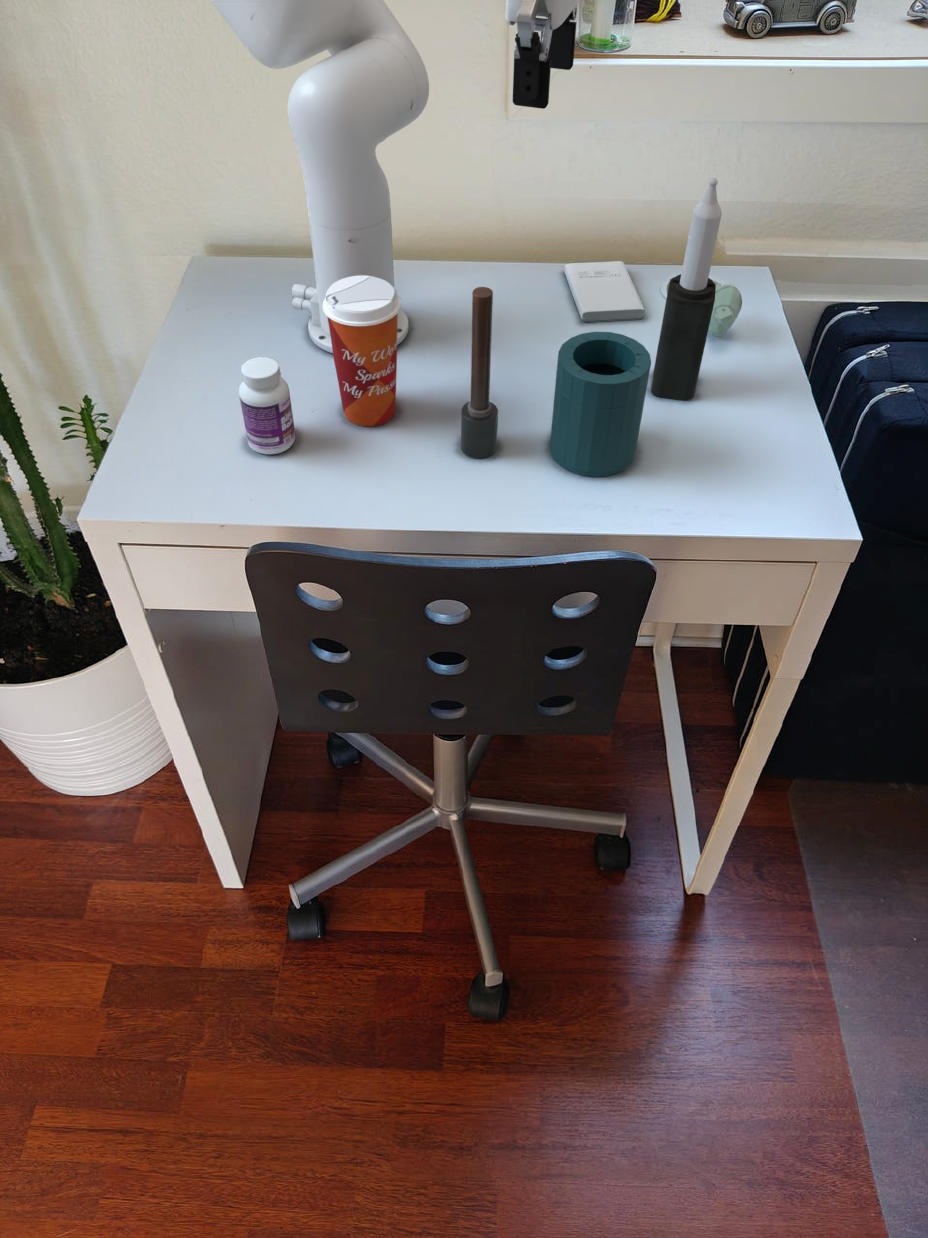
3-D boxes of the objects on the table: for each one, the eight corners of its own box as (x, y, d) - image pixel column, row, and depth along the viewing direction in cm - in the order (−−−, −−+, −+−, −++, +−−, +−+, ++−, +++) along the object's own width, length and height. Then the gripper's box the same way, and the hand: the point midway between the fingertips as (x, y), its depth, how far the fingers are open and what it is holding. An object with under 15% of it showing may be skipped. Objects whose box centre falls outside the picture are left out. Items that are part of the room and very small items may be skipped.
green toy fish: (695, 317, 129) (705, 269, 124) (726, 317, 130) (737, 269, 124) (707, 352, 124) (718, 303, 119) (739, 352, 124) (752, 303, 119)
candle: (693, 401, 117) (739, 191, 99) (649, 396, 118) (687, 186, 99) (695, 376, 121) (740, 169, 102) (653, 371, 121) (689, 164, 103)
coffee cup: (350, 440, 112) (339, 321, 101) (323, 401, 117) (309, 283, 105) (418, 419, 114) (414, 301, 103) (388, 382, 119) (381, 265, 108)
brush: (455, 453, 110) (456, 298, 96) (467, 432, 113) (470, 278, 99) (489, 462, 109) (495, 305, 95) (501, 440, 112) (508, 285, 98)
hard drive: (581, 323, 128) (564, 273, 137) (643, 319, 129) (622, 270, 137) (582, 311, 127) (565, 262, 135) (645, 308, 128) (624, 259, 136)
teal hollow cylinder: (539, 465, 109) (547, 372, 100) (563, 416, 115) (572, 324, 106) (623, 485, 107) (639, 391, 98) (643, 434, 113) (659, 341, 104)
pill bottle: (297, 454, 110) (286, 379, 103) (248, 458, 109) (234, 384, 102) (295, 424, 114) (284, 350, 106) (248, 428, 113) (234, 354, 106)
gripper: (538, -167, 86) (528, 49, 99) (481, -121, 75) (478, 116, 88) (623, -161, 85) (602, 58, 98) (578, -113, 74) (561, 127, 87)
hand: (543, 85), depth 93 cm, fingers open, 9 cm apart
